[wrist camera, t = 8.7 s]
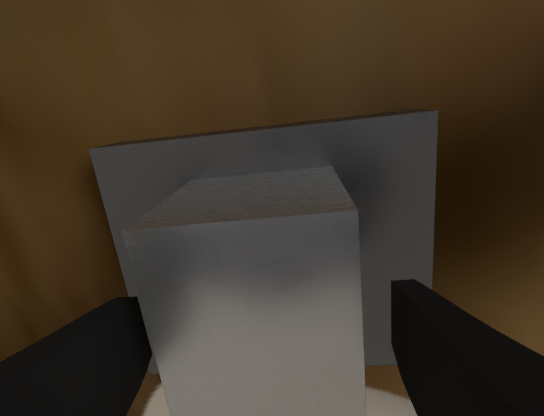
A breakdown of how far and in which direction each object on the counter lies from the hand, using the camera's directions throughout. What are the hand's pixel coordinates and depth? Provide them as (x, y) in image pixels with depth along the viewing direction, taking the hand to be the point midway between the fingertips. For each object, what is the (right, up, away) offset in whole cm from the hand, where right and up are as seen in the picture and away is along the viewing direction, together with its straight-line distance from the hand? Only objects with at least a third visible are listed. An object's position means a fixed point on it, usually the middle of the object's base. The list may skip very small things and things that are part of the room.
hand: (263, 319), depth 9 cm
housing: (0, +1, +3) cm, 3 cm away
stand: (0, +2, +5) cm, 6 cm away
